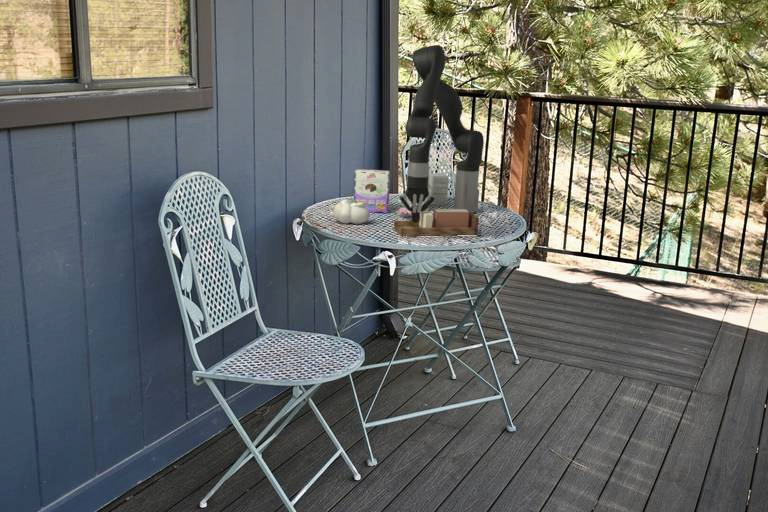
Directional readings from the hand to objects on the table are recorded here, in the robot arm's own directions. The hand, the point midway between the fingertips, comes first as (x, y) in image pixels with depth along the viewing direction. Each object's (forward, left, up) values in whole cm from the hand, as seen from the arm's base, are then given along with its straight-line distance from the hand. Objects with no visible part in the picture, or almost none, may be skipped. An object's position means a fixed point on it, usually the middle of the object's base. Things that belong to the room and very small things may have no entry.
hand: (415, 222), depth 290 cm
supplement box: (-21, -53, -4) cm, 57 cm away
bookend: (-4, 0, -2) cm, 4 cm away
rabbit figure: (-2, -27, -4) cm, 28 cm away
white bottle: (-10, -40, -4) cm, 41 cm away
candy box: (+10, -37, -4) cm, 38 cm away
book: (-13, 0, -3) cm, 13 cm away
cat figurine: (+22, -16, -4) cm, 27 cm away
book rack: (-7, 0, -4) cm, 8 cm away
